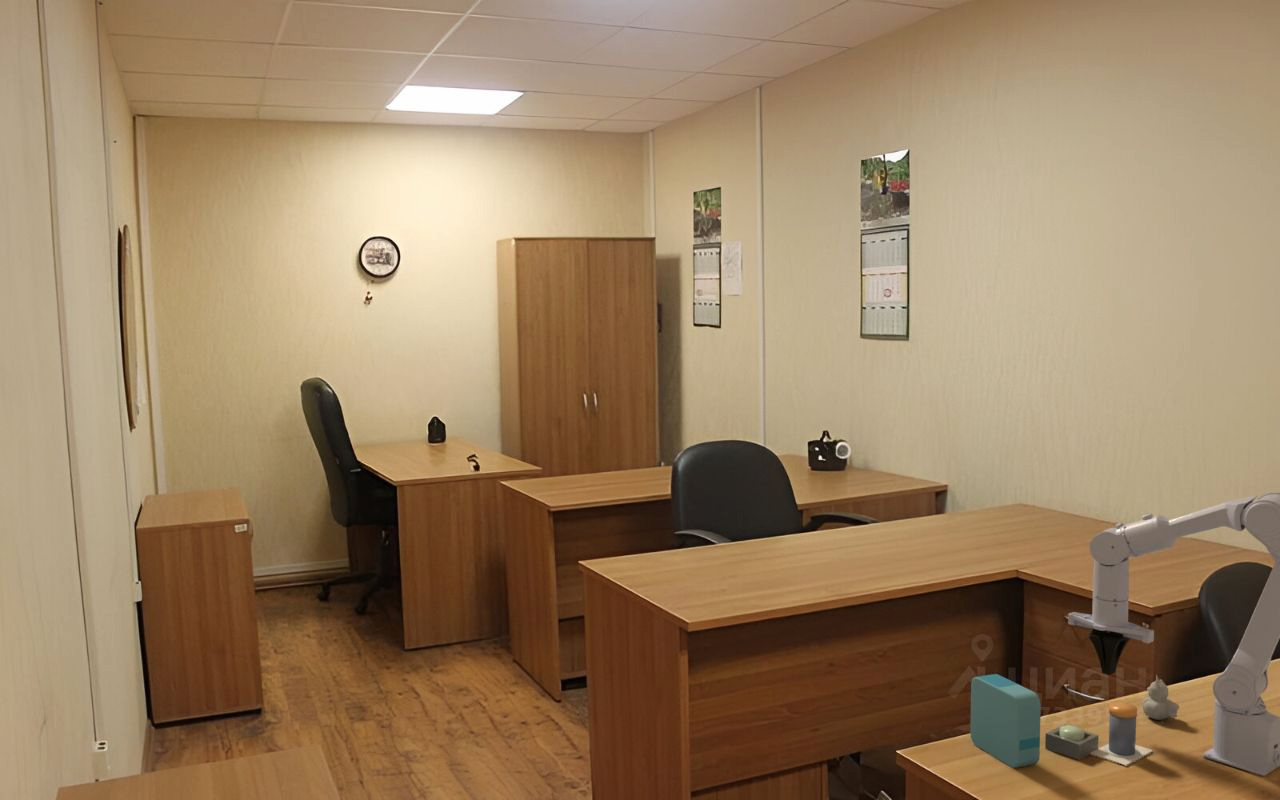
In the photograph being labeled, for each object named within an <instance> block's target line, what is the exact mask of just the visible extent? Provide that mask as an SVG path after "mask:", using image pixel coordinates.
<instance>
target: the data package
mask: <svg viewBox="0 0 1280 800" xmlns="http://www.w3.org/2000/svg"><path fill="white" fill-rule="evenodd" d="M970 685H971V687H970V739H971V741H972V743H973V745H975V746H976V747H977V748H978V749H981V750H982V751H984V752H986V753H987V754H988V755H990V756H992V757H994V758H995V759H996V760H997V759H998V760H999V761H1000V762H1002V763H1004V764H1005V765H1007V766H1008V767H1011V768H1012V769H1013V768H1014V769H1015V768H1016V769H1017V768H1020V767H1026V766H1027V767H1028V766H1033V765H1036V764H1038V763H1039V760H1040V758H1041V757H1040V756H1041V753H1040V751H1041V750H1040V749H1041V748H1040V747H1041V709H1042V708H1041V707H1042V706H1041V699H1040V697H1039V695H1038V694H1037V693H1036V692H1035V691H1032V690H1030V689H1029V688H1027V687H1024V686H1022V685H1020V684H1019V683H1016V682H1014V681H1012V680H1010V679H1008V678H1006V677H1004V676H1002V675H999V674H997V673H994V674H987V675H980V676H975V677H973V678H972V680H971V684H970Z"/></svg>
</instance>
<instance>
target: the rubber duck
mask: <svg viewBox="0 0 1280 800" xmlns="http://www.w3.org/2000/svg"><path fill="white" fill-rule="evenodd" d="M1146 690H1147V695H1148V696H1146V697H1145V698H1143V699H1142V703H1141V707H1142V711H1143V713H1144V714H1145V715H1146V716H1147V717H1149V718H1151V719H1154V720H1157V721H1158V720H1159V721H1161V720H1166V719H1168V718H1174V719H1175V718H1178V710H1179V709H1180V705H1179V704H1178V703H1176V702H1174V701H1173V700H1171V699H1169V698H1168V697H1169V688H1168V686H1167V685H1166V683H1165V682H1164V681H1163V679H1160V678H1159V676H1158V675H1157V674H1156V677H1155V681H1153V682H1151V683H1150V685H1149V686H1148V687H1147V688H1146Z"/></svg>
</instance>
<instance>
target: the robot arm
mask: <svg viewBox="0 0 1280 800" xmlns="http://www.w3.org/2000/svg"><path fill="white" fill-rule="evenodd" d="M1257 497H1258V495H1252V496H1246V497H1242V498H1241V497H1240V498H1237V499H1232V500H1228V501H1225V502H1222V503H1218V504H1215V505H1212V506H1209V507H1206V508H1203V509H1199V510H1197V511H1194V512H1191V513H1187V514H1184V515H1182V516H1178V517H1175V518H1172V519H1171V518H1168V517H1166V516H1163V515H1161V514H1156V515H1153V513H1147V514H1144V515H1143V516H1142V519H1139V520H1136V521H1132V522H1128V523H1127V524H1124V523H1123V522H1121V523H1117V524H1115V527H1111V528H1107V529H1105V530H1103V531H1101V532H1099V533H1097V534H1095V535H1094V536H1093V537H1092V539H1091V540H1090V542H1089V552H1090V555H1091V556H1092V558H1093V571H1092V572H1093V573H1092V614H1088V613H1082V612H1076V611H1073V612H1070V613H1067V616H1068V618H1067V624H1068V625H1071V626H1080V627H1083V628H1088V629H1091V630H1092V631H1091V632H1089V633H1088V637H1089V640H1090V641H1091V644H1092V646H1093V647H1094V649H1095V652H1096V654H1097V657H1098V660H1099V664H1100V667H1101V668H1100V669H1101V673H1102V674H1104V675H1107V676H1108V675H1109V676H1111V675H1113V674H1115V673H1116V670H1117V666H1118V663H1119V660H1120V657H1121V655H1122V653H1123V651H1124V649H1125V647H1126V646H1127V644H1128V642H1129V641H1130V639H1134V640H1137V641H1142V643H1144V644H1150V643H1152V642H1154V641H1155V630H1153V629H1149V628H1146V627H1143V626H1141V625H1138V624H1135V623H1133V622H1130V621H1129V593H1130V591H1129V590H1130V588H1129V587H1130V572H1129V571H1130V570H1129V568H1130V567H1129V566H1130V558H1131V557H1132V558H1137V557H1141V556H1145V555H1149V554H1151V553H1152V554H1153V553H1156V552H1161V551H1163V550H1164V551H1165V550H1167V549H1171V548H1173V547H1174V546H1175V544H1176V541H1177V539H1178V538H1180V537H1186V536H1189V535H1193V534H1197V533H1201V532H1206V531H1211V530H1215V529H1218V528H1221V527H1227V528H1229V529H1231V530H1235V531H1238V532H1243V531H1244V530H1247V532H1248V533H1249V534H1250V535H1251V536H1252V537H1253V538H1255V540H1257V541H1258V542H1260V543H1261V544H1262V545H1264V547H1265V548H1266V549H1267V551H1268V553H1269V554H1270V555H1271V557H1272V559H1273V560H1274V565H1273V567H1272V568H1271V571H1270V573H1269V576H1268V578H1267V579H1266V580H1267V581H1266V583H1265V586H1264V588H1263V589H1262V593H1261V595H1260V597H1259V598H1258V601H1257V604H1256V606H1255V608H1254V611H1253V613H1252V614H1251V617H1250V620H1249V622H1248V625H1247V627H1246V629H1245V630H1244V634H1243V636H1242V639H1241V640H1240V642H1239V645H1238V647H1237V649H1236V651H1235V653H1234V655H1233V656H1232V659H1231V661H1230V662H1229V663H1228V665H1227V666H1226V668H1225V670H1224V671H1223V672H1222V673H1220V674H1219V675H1218V676H1217V677H1216V678H1215V680H1214V681H1213V684H1212V691H1213V692H1212V693H1213V696H1214V710H1213V711H1214V715H1213V717H1214V718H1213V721H1214V722H1213V745H1212V748H1210V749H1208V750H1206V751H1205V752H1203V753H1202V757H1204V758H1206V759H1209V760H1213V761H1215V762H1217V763H1222V764H1225V765H1229V766H1231V767H1233V768H1234V767H1235V768H1238V769H1241V770H1243V771H1246V772H1247V771H1248V772H1250V773H1253V774H1256V775H1260V776H1264V777H1265V776H1267V775H1269V774H1270V773H1271V772H1273V771H1275V770H1276V769H1278V768H1279V767H1280V716H1278V715H1276V714H1274V713H1271V712H1270V711H1268V709H1267V705H1266V704H1265V702H1264V700H1263V698H1262V696H1261V695H1262V694H1263V693H1264V692H1265V691H1266V690H1267V689H1268V688H1267V687H1268V685H1269V677H1268V670H1269V666H1270V664H1271V660H1272V656H1273V655H1274V652H1275V650H1276V647H1277V646H1278V642H1279V641H1280V492H1268V493H1265V494H1263V495H1261V496H1260V497H1259V498H1258V499H1257V500H1255V499H1256V498H1257ZM1254 500H1255V501H1254Z"/></svg>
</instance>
